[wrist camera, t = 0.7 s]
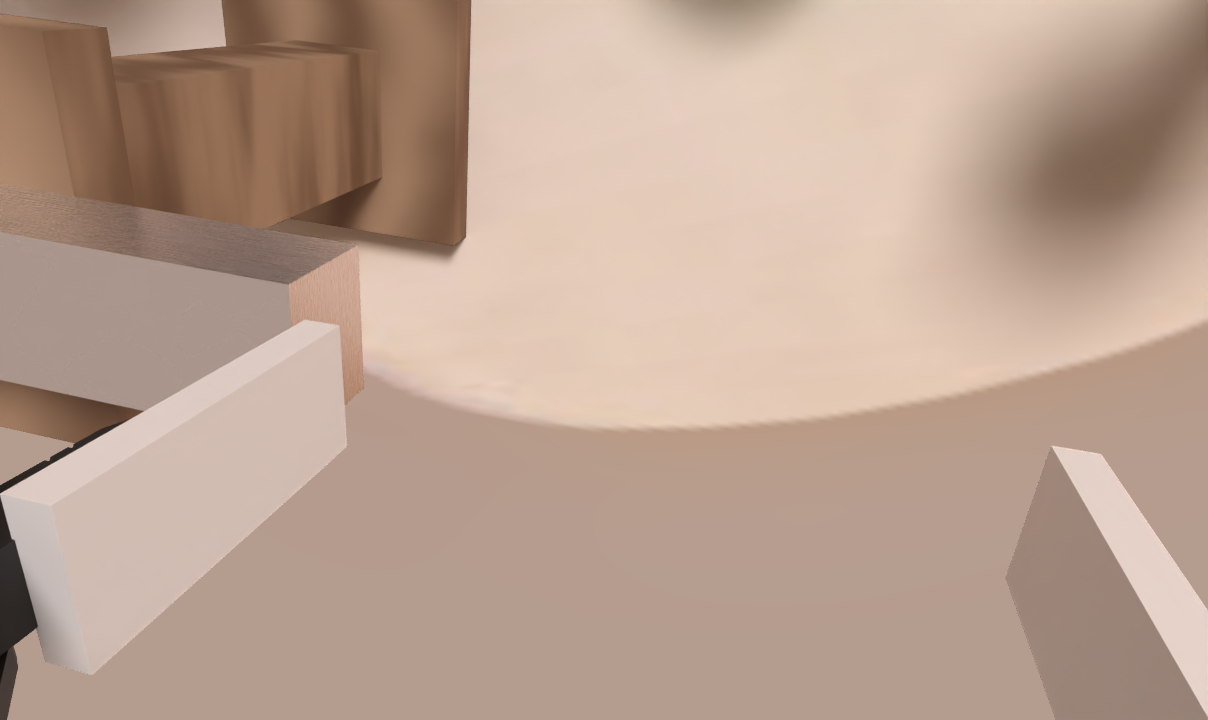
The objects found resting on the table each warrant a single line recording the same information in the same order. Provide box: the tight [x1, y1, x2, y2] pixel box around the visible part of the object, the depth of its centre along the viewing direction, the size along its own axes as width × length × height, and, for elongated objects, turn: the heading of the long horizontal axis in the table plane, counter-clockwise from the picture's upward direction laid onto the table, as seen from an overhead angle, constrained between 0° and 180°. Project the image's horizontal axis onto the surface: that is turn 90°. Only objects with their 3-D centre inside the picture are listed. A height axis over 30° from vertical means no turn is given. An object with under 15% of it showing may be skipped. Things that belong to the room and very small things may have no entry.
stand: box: [0, 0, 471, 443], centre depth 35 cm, size 14×14×28 cm
